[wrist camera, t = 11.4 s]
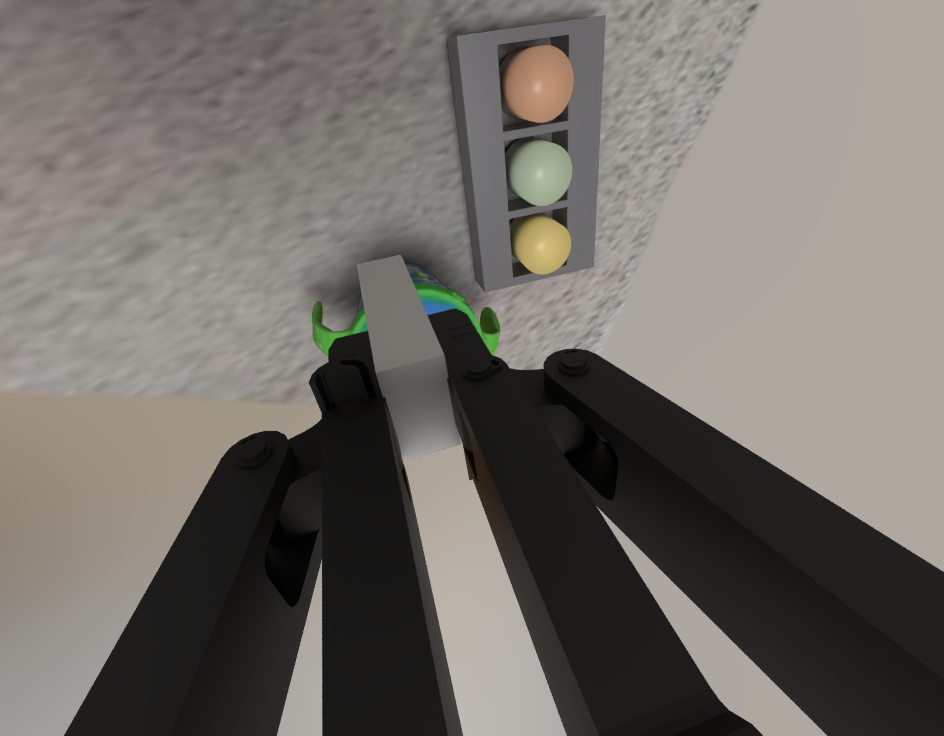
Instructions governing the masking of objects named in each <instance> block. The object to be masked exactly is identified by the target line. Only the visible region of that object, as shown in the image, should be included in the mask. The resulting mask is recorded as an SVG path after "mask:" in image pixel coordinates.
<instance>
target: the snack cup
mask: <svg viewBox="0 0 944 736" xmlns="http://www.w3.org/2000/svg"><path fill="white" fill-rule="evenodd" d="M405 265H406V268H407V270H408V272H409V275H410V277H411V279H412V281H413V284H414V286H415V288H416V291H417V293H418V295H419V298H420V300H421V302H422V305H423V307H424V309H425V311H426V314H427V315H430V314H434V313H438V312H442V311H446V310H450V309H455V308H456V309H458V310H460V311H462V312H464V313H466V314H467V315H468V316H469V318H470V320H471V321H472V323H473V325H474V326H475V328H476V329H477V332H478V333H479V334H480V336H481V338H482V339H483V341H484V343H485V344H486V346H487V348H488V349H489V351H490V353H491V354H492V355H493V354H494V352H495V351H496V348H497V345H498V339H499V336H500V325H499V321H498V319H497V316H496V314H495V313H494V311H493V310H492V309H491V308H489V307H485V308H484V309H483V310H482V312H481V317H480V324H479V322H478V320H477V317H476V316H475V314H474V312H473V311H472V309H471V308H470V307H469V305H468V304H467V303H466V302H465V300H464V298H463V297H462V296H461V295H460V294H458V293H457V292H455V291H453V290H450V289H446V288H445V287H444V286H443V285H442V284H441V283H440V282H439V281H438V280H437V279H436V278H435V277H433V276H432V275H431V274H430V273H429V272H427V271H426V270H425V269H423V268H421V267H417V266H414V265H411V264H405ZM322 314H323V311H322V303H321V302H320V301H317V302H316V304H315V305H314V308H313V312H312V324H313V339H314V342H315V343H316V345H317V346H318V348H319V349H320V350H321V351H322V352H323V353H324V354H326V355H327V356H328V349H329V348H330V346H331V345H332V343H333V341H334V340H335V338H339V337H343V336H348V335H352V334H356V333H360V332H364V331H368V327H367V321H366V316H365V310H364V304H363V299H362V293H361V298H360V302H359V307H358V312H357V316H356V317H355V319H354V321H353V324H352V325H351V327H349V328H348V329H347V330H344V331H337V332H333V331H331V330H330V329H329V328H327V327H325V326H324V325H322Z"/></svg>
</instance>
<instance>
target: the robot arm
mask: <svg viewBox="0 0 944 736" xmlns="http://www.w3.org/2000/svg"><path fill="white" fill-rule="evenodd" d="M356 265H357V271H358V276H359V282H360V287H361V293H362V299H363V304H364V310H365V316H366V321H367V327H368V331H364V332H360V333H356V334H352V335H348V336H343V337H339V338H335V340H334V341H333V343H332V345H331V346H330V348H329V349H328V360H329V362H328V363H326V364H324V365H323V366H321V367H319V368H318V369H317V370H316V371H315V372H314V373H313V374H312V376H311V378H310V381H309V384H310V386H311V389H312V391H313V394H314V396H315V398H316V401H317V403H318V405H319V408H320V410H321V412H322V419H321V420H320V421H319V422H318V423H317V424H315V425H314V426H313V427H312V428H310V429H308V430H306V431H305V432H303V433H301V434H299V435H297V436H295V437H293V438H291V439H289V440H288V439H287V437H286V436H285V435H284V434H282V433H280V432H278V431H263V432H259V433H255V434H252V435H250V436H248V437H246V438H244V439H242V440H240V441H239V442H237V443H236V444H235V445H233V446H232V447H231V448H229V450H228V451H227V452H226V453H225V455H224V456H223V457H222V458H221V460H220V462H219V464H218V465H217V467H216V469H215V471H214V472H213V474H212V476H211V478H210V480H209V481H208V483H207V485H206V487H205V488H204V490H203V492H202V494H201V495H200V497H199V499H198V501H197V502H196V504H195V506H194V508H193V509H192V511H191V513H190V515H189V516H188V518H187V520H186V522H185V524H184V525H183V527H182V529H181V531H180V532H179V534H178V536H177V538H176V539H175V541H174V543H173V545H172V546H171V548H170V550H169V552H168V554H167V555H166V557H165V559H164V560H163V562H162V564H161V566H160V568H159V569H158V571H157V573H156V575H155V576H154V578H153V580H152V582H151V583H150V585H149V587H148V589H147V590H146V593H145V594H144V596H143V597H142V599H141V601H140V603H139V605H138V606H137V608H136V610H135V612H134V613H133V615H132V617H131V619H130V620H129V622H128V624H127V626H126V627H125V629H124V631H123V633H122V634H121V636H120V638H119V640H118V641H117V643H116V645H115V647H114V649H113V650H112V652H111V654H110V656H109V657H108V659H107V661H106V663H105V664H104V666H103V668H102V670H101V672H100V673H99V675H98V677H97V679H96V680H95V682H94V684H93V686H92V687H91V689H90V691H89V693H88V694H87V696H86V698H85V700H84V701H83V703H82V705H81V707H80V708H79V710H78V712H77V714H76V716H75V717H74V719H73V721H72V723H71V724H70V726H69V728H68V730H67V731H66V733H65V735H64V736H277V732H278V728H279V725H280V721H281V717H282V713H283V709H284V705H285V701H286V697H287V693H288V689H289V685H290V681H291V677H292V674H293V669H294V665H295V662H296V658H297V654H298V650H299V646H300V642H301V638H302V634H303V630H304V626H305V622H306V618H307V614H308V611H309V607H310V603H311V599H312V595H313V591H314V587H315V583H316V579H317V576H318V572H319V568H320V564H321V560H322V699H323V700H322V723H323V724H322V726H323V727H322V730H323V731H322V732H323V733H322V735H323V736H463V733H462V728H461V724H460V719H459V715H458V710H457V705H456V700H455V696H454V692H453V686H452V682H451V677H450V673H449V668H448V663H447V659H446V654H445V649H444V645H443V640H442V635H441V631H440V626H439V621H438V617H437V612H436V607H435V603H434V598H433V594H432V589H431V584H430V580H429V575H428V570H427V565H426V561H425V556H424V551H423V547H422V542H421V538H420V533H419V528H418V524H417V519H416V514H415V509H414V505H413V500H412V496H411V491H410V486H409V482H408V477H407V474H406V470H405V467H404V464H403V461H405V460H408V459H412V458H415V457H418V456H422V455H425V454H429V453H432V452H435V451H439V450H442V449H446V448H449V447H452V446H456V445H459V444H461V441H462V443H463V448H464V453H465V459H466V464H467V469H468V475H469V480H472V479H473V481H474V484H475V486H476V489H477V492H478V494H479V497H480V500H481V502H482V505H483V508H484V511H485V514H486V516H487V519H488V522H489V524H490V527H491V530H492V532H493V535H494V538H495V541H496V543H497V546H498V549H499V552H500V554H501V557H502V560H503V562H504V565H505V568H506V570H507V574H508V576H509V579H510V582H511V584H512V587H513V590H514V593H515V595H516V598H517V601H518V603H519V606H520V609H521V611H522V614H523V617H524V620H525V622H526V625H527V628H528V631H529V633H530V636H531V639H532V642H533V644H534V647H535V650H536V653H537V655H538V658H539V661H540V663H541V666H542V669H543V671H544V674H545V677H546V680H547V683H548V685H549V688H550V690H551V693H552V696H553V699H554V702H555V704H556V707H557V710H558V713H559V715H560V718H561V721H562V723H563V726H564V729H565V732H566V734H567V736H763V735H762V734H761V733H760V732H759V731H758V730H757V729H756V728H755V727H754V726H753V725H752V724H751V723H749V722H748V721H746V720H744V719H742V718H741V717H739V716H738V715H736V714H734V713H733V712H731V711H729V710H728V709H727V708H726V707H725V706H724V705H723V703H722V702H721V701H720V700H719V699H718V697H717V696H716V695H715V693H714V692H713V691H712V689H711V688H710V686H709V684H708V683H707V682H706V680H705V678H704V676H703V675H702V673H701V672H700V670H699V669H698V667H697V666H696V664H695V662H694V661H693V659H692V658H691V656H690V654H689V653H688V651H687V650H686V648H685V647H684V645H683V643H682V642H681V640H680V638H679V637H678V635H677V634H676V632H675V630H674V629H673V627H672V626H671V624H670V623H669V621H668V619H667V618H666V616H665V615H664V613H663V611H662V610H661V608H660V607H659V605H658V603H657V602H656V600H655V599H654V597H653V595H652V594H651V592H650V591H649V589H648V588H647V586H646V584H645V583H644V581H643V580H642V578H641V576H640V575H639V573H638V572H637V570H636V568H635V567H634V565H633V564H632V562H631V561H630V559H629V557H628V556H627V554H626V553H625V551H624V549H623V548H622V546H621V545H620V543H619V541H618V540H617V538H616V537H615V535H614V534H613V532H612V530H611V529H610V527H609V526H608V524H607V522H606V521H605V519H604V518H603V516H602V514H601V513H600V511H599V510H598V508H599V509H600V510H601V511H602V512H603V513H604V514H605V515H606V516H607V517H608V518H609V519H610V520H611V521H612V522H613V523H614V524H615V525H616V526H617V527H618V528H619V529H620V530H621V531H622V532H623V533H624V534H625V535H626V536H627V537H628V538H629V539H630V540H631V541H632V542H633V543H634V544H635V545H636V546H637V547H638V548H639V549H640V550H641V551H642V552H643V553H644V554H645V555H646V556H647V557H648V558H649V559H650V560H651V561H652V562H653V563H654V564H655V565H657V566H658V568H659V569H660V570H662V572H663V573H664V574H665V575H666V576H667V577H669V578H670V580H671V581H672V582H674V584H675V585H676V586H677V587H679V589H681V590H682V591H683V592H684V593H685V594H686V595H687V596H688V597H689V598H690V599H691V600H692V601H693V602H694V603H695V604H696V605H697V606H698V607H699V608H700V609H701V610H702V611H703V612H704V613H705V614H706V615H707V616H708V617H709V618H710V619H711V620H712V621H713V622H714V623H715V624H716V625H717V626H718V627H719V628H720V629H721V630H722V631H723V632H724V633H725V634H726V635H727V636H728V637H729V638H730V639H731V640H732V641H733V642H734V643H735V644H736V645H737V646H738V647H739V648H740V649H741V650H742V651H743V652H744V653H745V654H746V655H747V656H748V657H749V658H750V659H751V660H752V661H753V662H754V663H755V664H756V665H757V666H758V667H759V668H760V669H761V670H762V671H763V672H764V673H765V674H766V675H767V676H768V677H769V678H770V679H771V680H772V681H773V682H774V683H775V684H776V685H777V686H778V687H779V688H780V689H781V690H782V691H783V692H784V693H785V694H786V695H787V696H788V697H789V698H790V699H791V700H792V701H793V702H794V703H795V704H796V705H797V706H798V707H799V708H800V709H801V710H802V711H804V713H805V714H806V715H807V716H808V717H809V718H810V719H811V720H813V722H814V723H815V724H817V726H818V727H819V728H820V729H822V731H823V732H824V733H825V734H826V735H827V736H944V572H943V571H941V570H939V569H938V568H936V567H935V566H933V565H932V564H930V563H928V562H927V561H925V560H924V559H922V558H920V557H919V556H917V555H916V554H914V553H912V552H911V551H909V550H907V549H906V548H904V547H903V546H901V545H900V544H898V543H896V542H895V541H893V540H892V539H890V538H889V537H887V536H885V535H884V534H882V533H881V532H879V531H877V530H875V529H874V528H873V527H871V526H869V525H868V524H866V523H865V522H863V521H861V520H860V519H858V518H857V517H855V516H853V515H852V514H850V513H849V512H847V511H845V510H844V509H842V508H841V507H839V506H837V505H836V504H834V503H833V502H831V501H830V500H828V499H826V498H824V497H823V496H822V495H820V494H818V493H817V492H815V491H814V490H812V489H810V488H809V487H807V486H806V485H804V484H802V483H801V482H799V481H798V480H796V479H794V478H793V477H791V476H790V475H788V474H786V473H785V472H783V471H782V470H780V469H779V468H777V467H775V466H774V465H772V464H770V463H769V462H767V461H766V460H764V459H763V458H761V457H759V456H758V455H756V454H755V453H753V452H751V451H750V450H748V449H747V448H745V447H743V446H742V445H740V444H738V443H737V442H736V441H734V440H732V439H731V438H729V437H728V436H726V435H724V434H723V433H721V432H720V431H718V430H716V429H715V428H713V427H712V426H710V425H708V424H707V423H705V422H704V421H702V420H700V419H699V418H697V417H696V416H694V415H692V414H691V413H689V412H688V411H686V410H684V409H683V408H681V407H680V406H678V405H677V404H675V403H673V402H672V401H670V400H669V399H667V398H665V397H664V396H662V395H660V394H659V393H657V392H656V391H654V390H653V389H651V388H649V387H648V386H646V385H645V384H643V383H641V382H640V381H638V380H637V379H635V378H634V377H632V376H630V375H628V374H627V373H626V372H624V371H622V370H621V369H619V368H618V367H616V366H614V365H613V364H611V363H610V362H608V361H606V360H605V359H603V358H602V357H600V356H598V355H597V354H595V353H592V352H590V351H588V350H582V349H564V350H561V351H557V352H554V353H553V354H551V355H550V356H548V357H547V359H546V360H545V362H544V369H538V370H516V369H511V368H509V367H508V365H507V364H506V363H505V362H504V361H503V360H502V359H501V358H498V357H496V356H493V355H492V354H491V353H490V351H489V349H488V348H487V346H486V344H485V343H484V341H483V339H482V338H481V336H480V334H479V333H478V332H477V329H476V328H475V326H474V325H473V323H472V321H471V320H470V318H469V316H468V315H467V314H466V313H464V312H462V311H460V310H458V309H456V308H455V309H450V310H446V311H442V312H438V313H434V314H430V315H427V314H426V311H425V309H424V307H423V305H422V302H421V300H420V298H419V295H418V293H417V291H416V288H415V286H414V284H413V281H412V279H411V277H410V275H409V272H408V270H407V268H406V265H405V263H404V261H403V258H402V256H401V255H397V256H392V257H387V258H383V259H378V260H374V261H369V262H364V263H360V264H356ZM459 435H460V436H459ZM460 438H461V441H460ZM596 506H597V507H598V508H597V507H596Z"/></svg>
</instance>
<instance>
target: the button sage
mask: <svg viewBox="0 0 944 736" xmlns="http://www.w3.org/2000/svg"><path fill="white" fill-rule="evenodd" d="M505 167H506V182H507V188H508V189H509V190H510V191H512V192H513V193H515V194H516V195H518V196H520V197H521V198H523V199H524V200H526V201H528V202H529V203H531V204H533V205H537V206H546V205H550V204H552V203H554V202H556V201H557V200H558V199H559V198H561V197H562V195H563V194H564V193H565V192H566V190H567V188H568V186H569V184H570V181H571V177H572V162H571V159H570V157H569V155H568V153H567V152H566V150H565V149H564V148H562V147H561V146H559V145H557V144H554V143H551V142H548V141H544V140H541V139H538V138H534V137H524V138H521V139H519V140H517V141H515V142H514V143H513V144H512V145H511V146H510V147H509V148H508V149H507V151H506V153H505Z"/></svg>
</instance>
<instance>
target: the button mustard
mask: <svg viewBox="0 0 944 736" xmlns="http://www.w3.org/2000/svg"><path fill="white" fill-rule="evenodd" d="M509 227H510V241H511V253H512V254H513V255H514V256H515V257H516V258H517V259H518V260H519V261H520V262H521V263H522V264H523V265H524V266H525V267H526V268H527V269H529V270H530V271H531V272H533V273H535V274H548V273H551V272H554V271H555V270H557V269H558V268H560V267H561V266H562V265H563V263H564V262H565V261H566V259H567V258H568V255H569V253H570V249H571V237H570V234H569V232H568V230H567V229H566V228H565V227H564V226H563V225H561V224H560V223H558V222H556V221H555V220H553V219H552V218H550V217H548V216H547V215H545V214H544V213H542V212H540V213H536V214H531V215H526V216H521V217H517V218H515V219H514V220H513V221H512V222H511V224H510V226H509Z"/></svg>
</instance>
